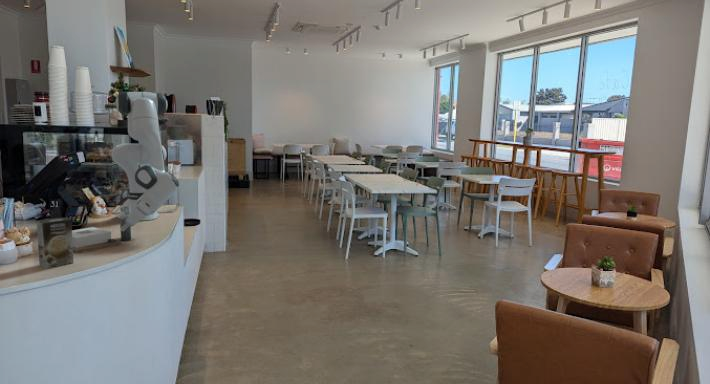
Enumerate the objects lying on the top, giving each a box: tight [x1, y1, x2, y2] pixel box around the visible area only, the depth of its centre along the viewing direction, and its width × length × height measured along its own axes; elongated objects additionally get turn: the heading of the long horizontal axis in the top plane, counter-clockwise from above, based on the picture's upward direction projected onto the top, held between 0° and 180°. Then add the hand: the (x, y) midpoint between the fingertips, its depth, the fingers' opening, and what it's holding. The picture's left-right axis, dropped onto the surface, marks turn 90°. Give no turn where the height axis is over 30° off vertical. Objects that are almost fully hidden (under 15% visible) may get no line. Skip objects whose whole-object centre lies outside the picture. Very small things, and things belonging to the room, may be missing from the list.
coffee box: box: [36, 217, 74, 269], centre depth 170 cm, size 9×6×16 cm
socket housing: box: [72, 226, 112, 248], centre depth 198 cm, size 14×14×4 cm
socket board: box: [73, 238, 122, 254], centre depth 199 cm, size 22×18×2 cm
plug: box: [119, 216, 132, 242], centre depth 206 cm, size 4×4×10 cm
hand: (123, 227), depth 206 cm, fingers open, 8 cm apart
